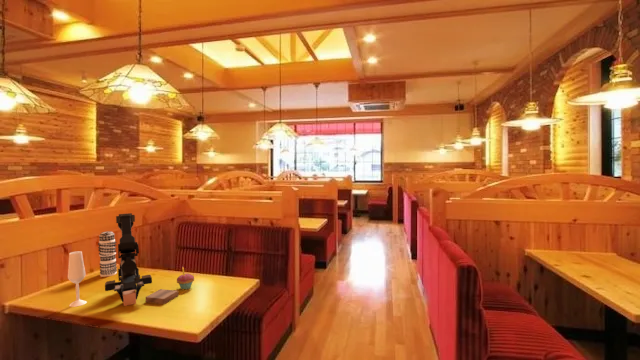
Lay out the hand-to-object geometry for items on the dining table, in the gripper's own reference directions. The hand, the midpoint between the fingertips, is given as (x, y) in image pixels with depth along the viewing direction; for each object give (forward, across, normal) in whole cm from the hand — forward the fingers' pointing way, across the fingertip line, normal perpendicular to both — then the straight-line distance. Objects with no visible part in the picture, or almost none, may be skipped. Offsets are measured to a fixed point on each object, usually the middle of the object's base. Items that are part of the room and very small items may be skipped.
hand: (129, 300), depth 156 cm
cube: (+1, 0, 0) cm, 1 cm away
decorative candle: (+1, -9, +54) cm, 55 cm away
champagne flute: (+1, -20, +12) cm, 24 cm away
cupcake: (+1, +26, +6) cm, 26 cm away
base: (+1, +13, -4) cm, 14 cm away
